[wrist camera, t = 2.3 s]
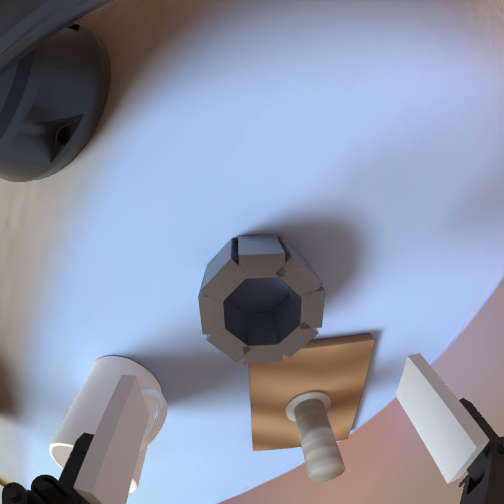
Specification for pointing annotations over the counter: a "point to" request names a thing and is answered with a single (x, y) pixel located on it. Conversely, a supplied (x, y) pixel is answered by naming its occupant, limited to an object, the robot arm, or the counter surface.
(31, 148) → the robot arm
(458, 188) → the counter surface
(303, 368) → the post block
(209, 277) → the ring
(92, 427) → the mug
